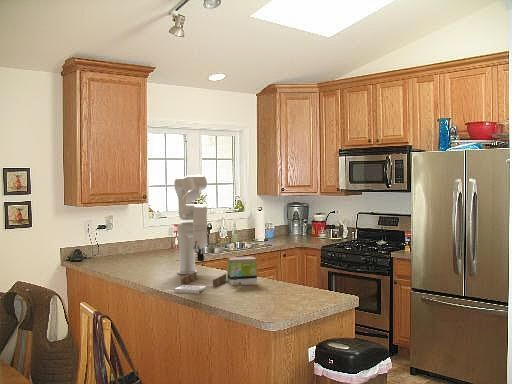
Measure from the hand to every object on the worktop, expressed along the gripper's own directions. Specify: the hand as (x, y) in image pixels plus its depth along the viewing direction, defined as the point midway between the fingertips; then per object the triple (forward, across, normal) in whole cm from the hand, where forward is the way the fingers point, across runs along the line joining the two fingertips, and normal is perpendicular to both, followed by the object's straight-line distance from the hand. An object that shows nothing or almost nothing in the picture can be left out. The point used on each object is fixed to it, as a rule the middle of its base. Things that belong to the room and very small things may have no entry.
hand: (200, 260), depth 301 cm
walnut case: (+14, -3, +1) cm, 14 cm away
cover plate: (+14, +14, 0) cm, 20 cm away
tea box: (+14, -10, +21) cm, 27 cm away
